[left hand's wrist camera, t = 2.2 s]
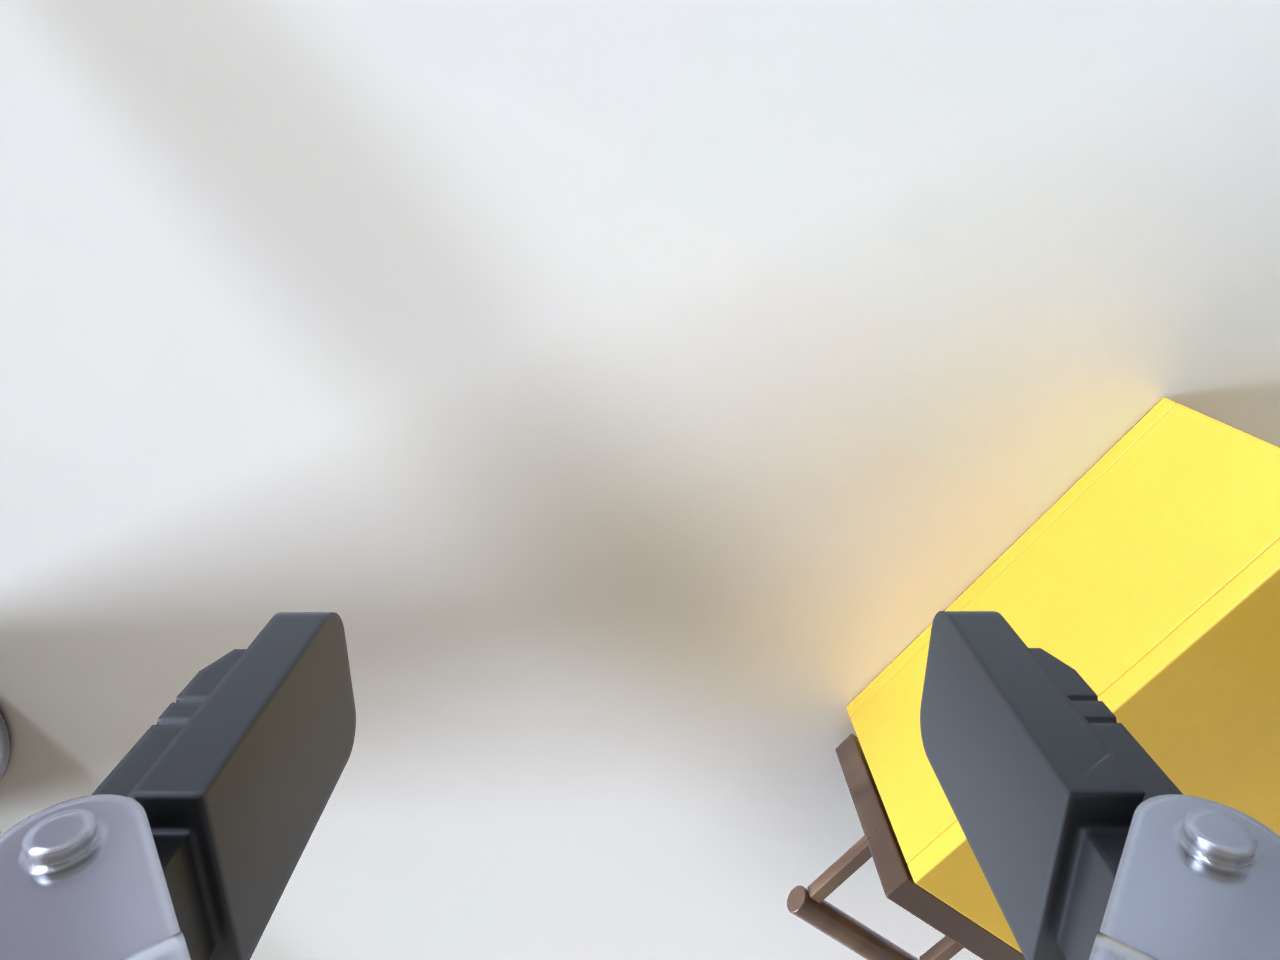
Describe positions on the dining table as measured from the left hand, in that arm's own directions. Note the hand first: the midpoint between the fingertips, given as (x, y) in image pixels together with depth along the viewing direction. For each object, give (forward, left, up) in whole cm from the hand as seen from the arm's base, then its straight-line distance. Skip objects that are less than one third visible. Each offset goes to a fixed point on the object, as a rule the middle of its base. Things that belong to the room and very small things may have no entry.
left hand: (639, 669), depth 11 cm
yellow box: (+2, -24, -24) cm, 34 cm away
